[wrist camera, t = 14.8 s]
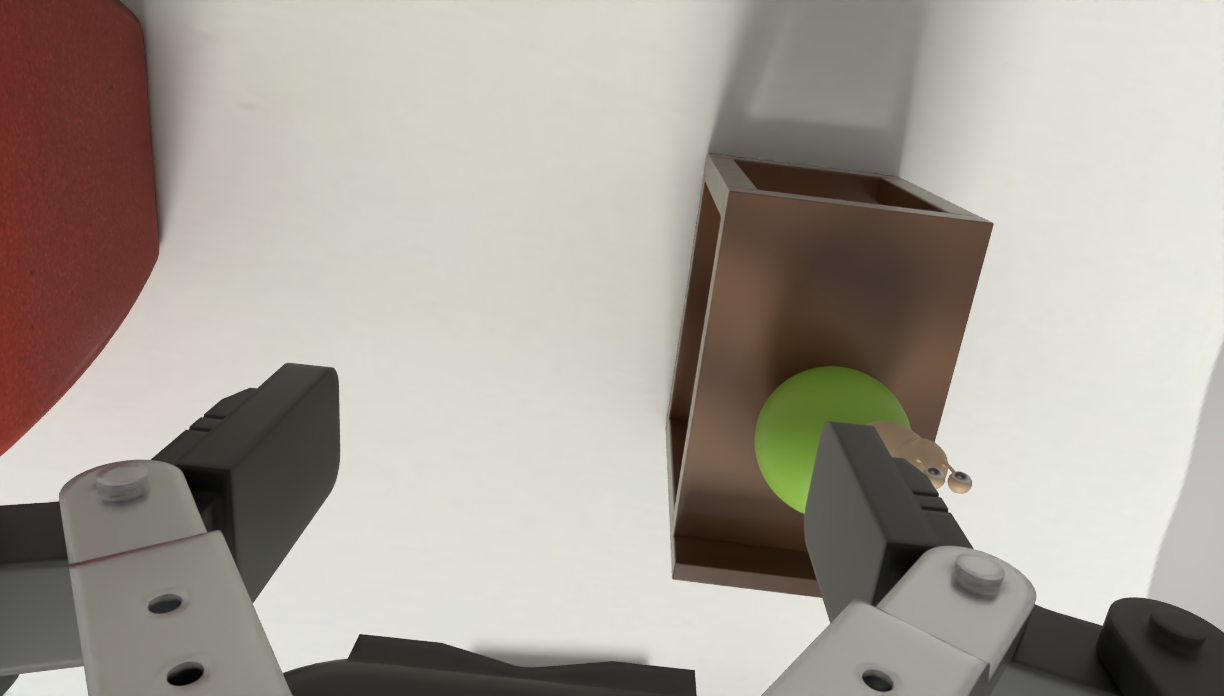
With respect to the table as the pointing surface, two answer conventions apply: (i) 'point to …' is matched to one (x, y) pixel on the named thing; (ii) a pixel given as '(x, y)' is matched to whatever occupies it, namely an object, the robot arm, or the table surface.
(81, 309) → the flower pot
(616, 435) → the table surface
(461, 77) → the table surface
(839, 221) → the box
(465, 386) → the table surface
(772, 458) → the snail figurine
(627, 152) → the table surface
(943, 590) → the robot arm
